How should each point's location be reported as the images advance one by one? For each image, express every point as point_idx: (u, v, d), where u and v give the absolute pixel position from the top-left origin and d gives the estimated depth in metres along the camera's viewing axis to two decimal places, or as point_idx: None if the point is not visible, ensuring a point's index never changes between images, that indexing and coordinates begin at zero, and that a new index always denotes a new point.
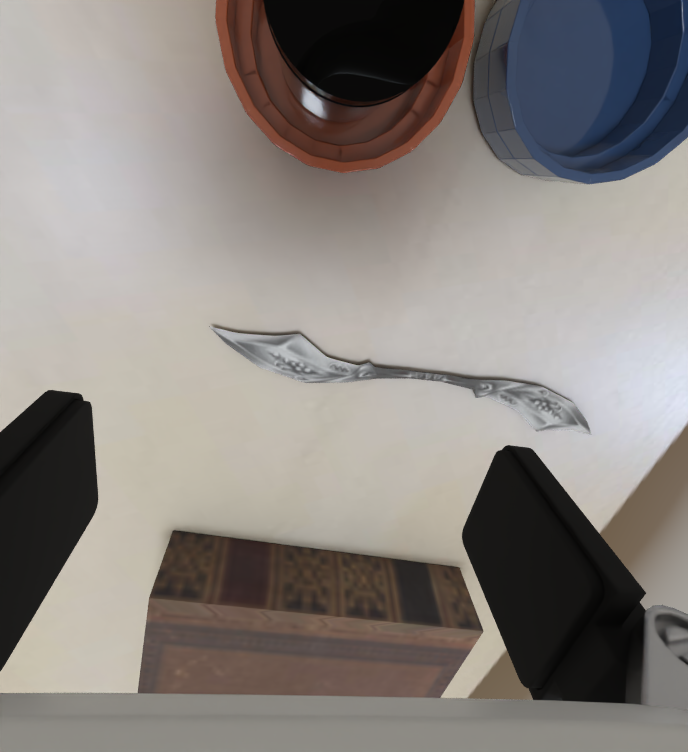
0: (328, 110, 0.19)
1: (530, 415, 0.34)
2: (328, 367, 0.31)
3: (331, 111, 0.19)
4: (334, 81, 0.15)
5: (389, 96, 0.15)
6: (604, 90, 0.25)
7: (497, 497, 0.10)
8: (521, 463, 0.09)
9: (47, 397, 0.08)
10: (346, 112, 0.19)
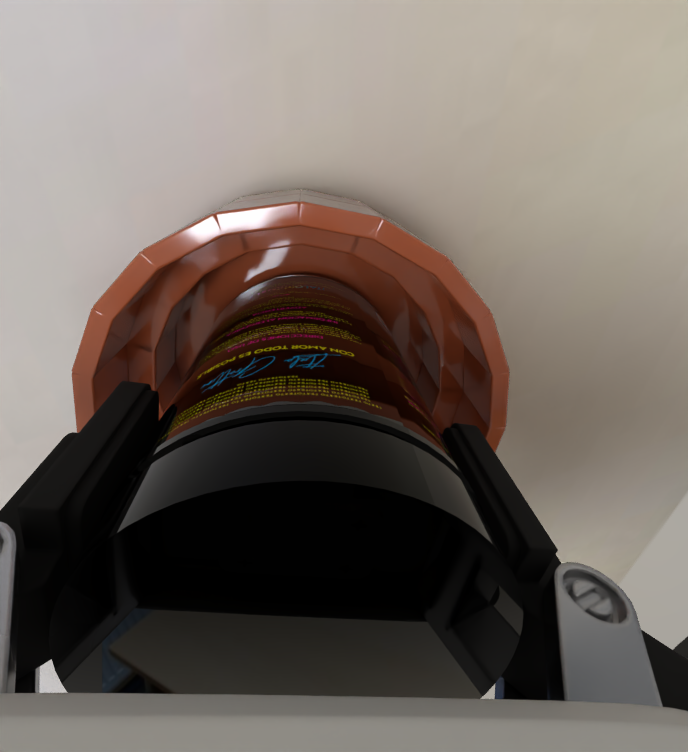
0: None
1: None
2: None
3: None
4: (83, 631, 0.06)
5: None
6: None
7: None
8: (464, 438, 0.10)
9: (123, 387, 0.09)
10: None
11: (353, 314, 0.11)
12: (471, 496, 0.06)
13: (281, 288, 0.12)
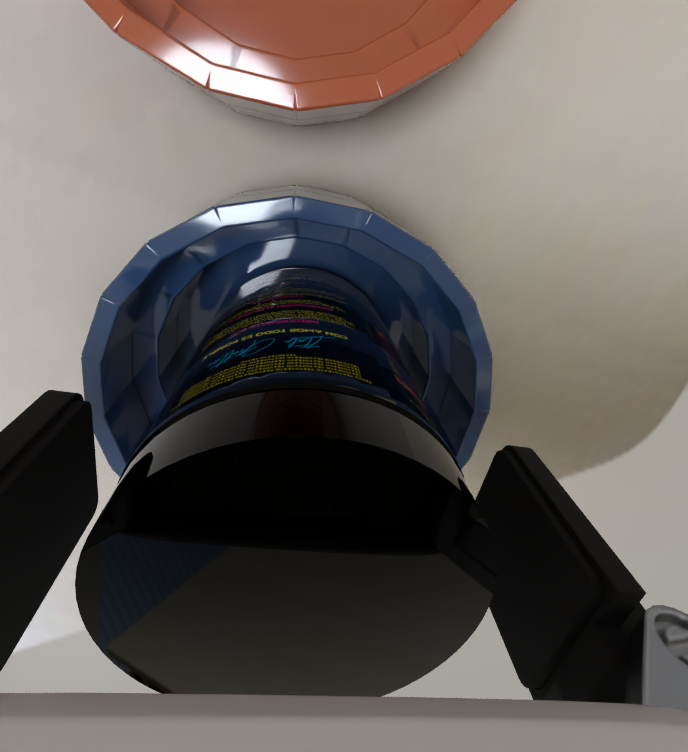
0: None
1: None
2: None
3: None
4: (105, 576, 0.06)
5: (110, 654, 0.07)
6: None
7: (497, 497, 0.10)
8: (521, 463, 0.09)
9: (47, 397, 0.08)
10: None
11: (347, 303, 0.12)
12: (451, 459, 0.07)
13: (279, 279, 0.13)
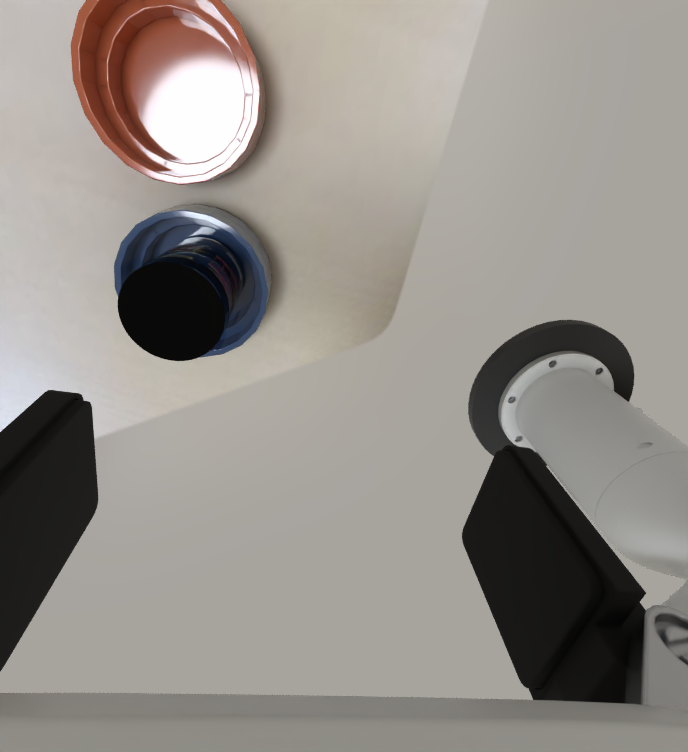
0: None
1: None
2: None
3: None
4: (125, 300, 0.27)
5: (125, 329, 0.28)
6: None
7: (497, 497, 0.10)
8: (521, 463, 0.09)
9: (47, 397, 0.08)
10: None
11: (209, 247, 0.32)
12: (213, 278, 0.28)
13: (188, 240, 0.34)
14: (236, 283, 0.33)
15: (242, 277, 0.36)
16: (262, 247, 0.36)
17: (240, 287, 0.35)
